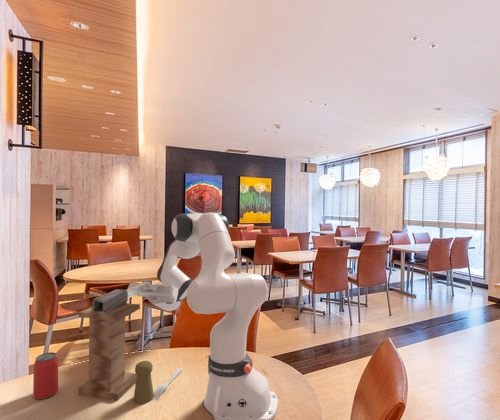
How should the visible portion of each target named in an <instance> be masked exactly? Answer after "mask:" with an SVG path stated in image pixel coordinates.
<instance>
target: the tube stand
mask: <svg viewBox="0 0 500 420" xmlns="http://www.w3.org/2000/svg"><path fill="white" fill-rule="evenodd" d="M128 300H129V298H128V292H127V290H126V289H115V290H111V291H110V292H108V293H105V294H102V295H100V296H97V297H95V298H93V299H92V301H91V306H90V307H88V308H86V309H83V310H81V311H79V312H78V317H79V318H85V319H89V322H88V324H89V328H88V330H89V331H88V333H89V335H88V339H89V340H88V380H87V381H86V382H84V383H83V384H82V385H80V386H79V387H77V395H79V396H85V397H93V398H99V399H104V400H105V399H106V400H111V401H119V400H120V399H121V398H122V397H123V396H124V395H125V394H126V393H127V392H128V391H129V390H130V389H131V388H132V387H134V385H136V378H137V374H136V373H135V372H134V373H132V372H127V371H125V370H126V369H125V366H126V365H125V359H126V357H125V355H126V354H125V352H126V348H125V347H126V317H128V316H130V315H132V314H133V313H135V312H137V311H138V310H139V311H140V309H141V304H140V303H128Z"/></svg>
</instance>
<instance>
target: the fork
mask: <svg viewBox="0 0 500 420" xmlns="http://www.w3.org/2000/svg"><path fill="white" fill-rule="evenodd" d="M183 371H184V368H181V367H178V368H177V369H175V371H174V373H173V374H172V375H171V377H170V378H169V380H168V381H167V382H166V383H165V384H163V383H160V384H159V385H158V386H157V388H156V390H155V392H154V393H153V395H154V396H153V399H152V400H151V401H154V402H158V401H159V400H160V398H161V396H162V394H163V393H164V391H165V390H166V388H167V387H168V386H169V384H171V382H172V381H173V380H174V379H175V378H176V377H177V376H178V375H179V374H180V373H182V372H183Z"/></svg>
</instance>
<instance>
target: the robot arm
mask: <svg viewBox="0 0 500 420" xmlns="http://www.w3.org/2000/svg"><path fill="white" fill-rule="evenodd" d="M171 222H172V223H171V233H172V236H173V238H174V239H173V241H171V242H170V243H169V245H168V247H167V249H166V251H165V255H164V258H163V260H162V262H161V264H160V266H159V267H158V269H157V272H156V278H157V281H159V282H160V283H155V284H153V283H152V284H147V288H148V289H147V290H145V291H143V292H141V293H139V294H137V295H135V296H137V297H147V300H148V302H150V303H151V304H152V305H154V306H156V307H158V308H160V309H161V310H164V311H166V312H172V311H175V310H177V309H178V308H179V306H180V305H181V302H182V301H184V300H185V299H186V302H187V305H188V307H189V309H190V310H191V311H192V312H194V313H195V314H202V315H213V314H219V313H225V315H224V316H223V317H222V318H221V319H220V320H219V321H218V322H216V323H215V324H214V325H213V326H212V329H211V331H210V334H209V335H210V336H209V337H210V338H209V339H210V340H209V355H208V360H207V371H208V383H207V387H206V394H205V398H204V399H203V400H204V401H203V405H204V408H205V409H206V410H207V411H208V412H209V413H210V414H212V416H213V418H214V420H273V419H274V417H276V416H275V415H276V414H277V411H278V407H279V406H278V405H279V400H278V396H277V394H276V392H275V391H273V390H271V388H270V383H269V380H268V379H267V377H266V376H264V375H263V374H262V373H260V372H259V371H258V370H256V369H255V368H254V367H253V358H254V357H253V355H251V356H249V355H248V353H247V338H248V337H247V336H248V331H249V330H248V329H249V326H250V324H251V321H252V318H253V317H254V315H255V313H256V311H257V310H258V309H259V308H260V307H261V306H262V305H263V304H264V303H265V301H266V300H267V297H268V292H269V287H268V284H267V281H266V279H265V278H264V277H263V276H262V275H261V274H257V273H252V272H240V273H239V272H238V273H229V274H228V273H225V270H226V269H228V268H229V267H230V266H231V265H232V264H233V262H234V261H235V258H236V252H235V249H234V245H233V243H232V239H231V236H230V233H229V232H230V223H229V220H228V219H227V217H226V216H225V215H223V214H218V213H216V212H211V211H210V212H206V213H205V212H204V213H202V212H194V213H179V214H177V215H175V216H174V217H173V219H172V221H171ZM199 254H200V258H201V268H200V271H199V274H197V276H196V277H195V279H193V280H192V279H191V278H190V277H189V276H188V275H186V274H185V273H184V272H183V271H182V270H180V268H179V267H178V266H177V265H176V261H177V259H178V258H180V259H185V260H186V259H187V260H189V259H192V258H195V257H197V256H198V255H199ZM141 283H142V282H139V283H135V282H134V283H133V282H132V283H131V282H130V283H129V285H128V286H127V289H129V288H131V287H133V286H136V285H138V284H141Z"/></svg>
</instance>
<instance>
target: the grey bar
mask: <svg viewBox="0 0 500 420" xmlns="http://www.w3.org/2000/svg"><path fill="white" fill-rule="evenodd" d="M140 283H141V284H139V283H137V284H138V285H136V286H133V287H131V288H129V289H128V288H127V289H125V290H127V292H128V299H130V298H132V297H134V296H136V295H137V294H139V293H141V292H143V291H145V290H147V289H148V288H147V284H152V285H153V281H150V280H145V281H142V282H140Z"/></svg>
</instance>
